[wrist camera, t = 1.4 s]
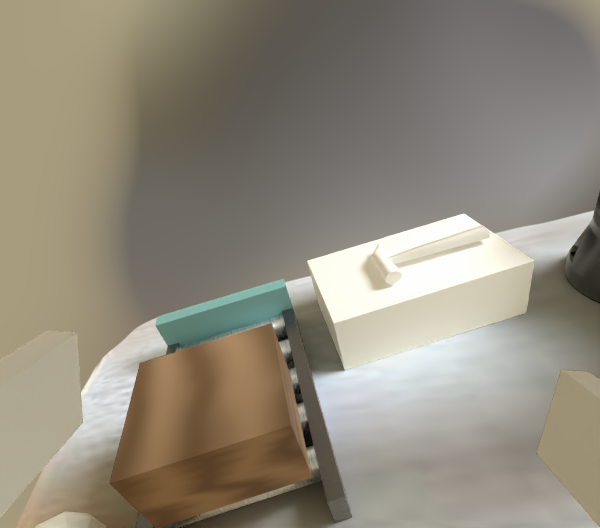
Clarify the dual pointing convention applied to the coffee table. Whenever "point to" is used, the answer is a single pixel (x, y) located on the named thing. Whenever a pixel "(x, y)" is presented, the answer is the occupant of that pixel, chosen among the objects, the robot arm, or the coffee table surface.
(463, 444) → the coffee table surface
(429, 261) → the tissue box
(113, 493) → the coffee table surface
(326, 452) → the roller track
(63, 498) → the coffee table surface
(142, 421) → the brown wooden block
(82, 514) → the geometric ball
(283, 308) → the teal stop bar
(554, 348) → the coffee table surface
